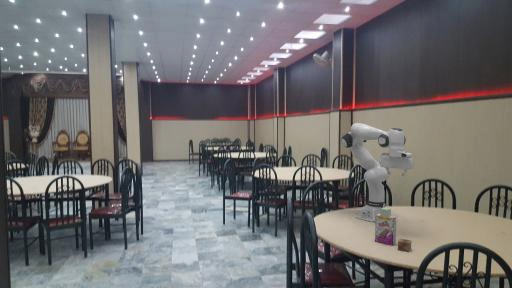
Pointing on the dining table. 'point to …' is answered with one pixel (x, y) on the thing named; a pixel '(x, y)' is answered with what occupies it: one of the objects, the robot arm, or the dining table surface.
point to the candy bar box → (385, 229)
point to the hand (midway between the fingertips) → (396, 175)
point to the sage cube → (385, 212)
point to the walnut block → (404, 245)
